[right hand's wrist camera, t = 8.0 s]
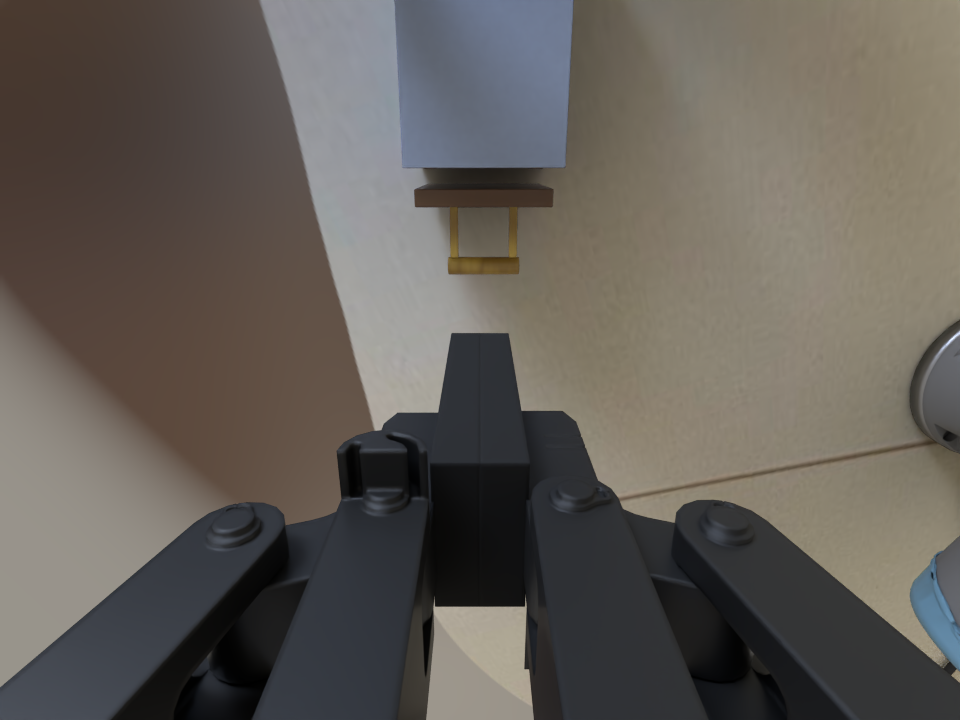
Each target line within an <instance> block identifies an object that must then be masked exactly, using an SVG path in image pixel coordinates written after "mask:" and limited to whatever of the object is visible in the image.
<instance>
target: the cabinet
mask: <svg viewBox="0 0 960 720" xmlns="http://www.w3.org/2000/svg"><path fill="white" fill-rule="evenodd" d="M573 3H574V0H395V18H396V39H397V60H398V81H399V102H400V123H401V144H402V165H403V168H565V164H566V144H567V123H568V103H569V83H570V63H571V43H572V23H573Z"/></svg>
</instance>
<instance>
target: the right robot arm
mask: <svg viewBox="0 0 960 720" xmlns="http://www.w3.org/2000/svg"><path fill="white" fill-rule="evenodd" d="M910 406H911V411H912V415H913V417H914V419H915V421H916V423H917V425H918V426H919V428H920V429H921V430H922V431H923V432H924V433H925V434H926V435H927V436H928V437H930V438H931V439H933V440H934V441H936V442H938V443H939V444H941V445H942V446H944V447H946V448H948V449H949V450H952V451H954V452H957V453H960V321H958V322H957V323H955V324H954V325H953V326H951V327H950V328H949V329H947V330H946V331H945V332H944V333H943V334H942V335H941V336H940V337H939V338H937V339H936V341H935V342H934V343H933V344H932V345H931V346H930V348H929V349H928V350H927V352H926V353H925V354H924V356H923V358H922V359H921V361H920V363H919V365H918V367H917V369H916V371H915V374H914V377H913V380H912V384H911V389H910ZM337 459H338V469H339V479H340V488H341V498H342V499H341V502H340V504H339V507H338V509H337V512H335V513H332V514H330V515H328V516H325V517H322V518H318V519H314V520H310V521H305V522H301V523H295V524H290V525H286V526H285V519H284V514H283V513H282V512H281V511H280V510H279V509H278V508H277V507H274V506H272V505H269V504H265V503H251V502H246V503H239V504H233V505H229V506H226V507H224V508H221V509H219V510H216V511H213V512H211V513H209V514H207V515H206V516H204V517H203V518H201V519H200V520H198V521H197V522H195V523H194V524H192V525H191V526H190V527H189V528H188V529H187V530H185V531H184V532H183V533H182V534H181V535H180V536H178V537H177V538H176V539H175V540H174V541H172V542H171V543H170V544H169V545H168V546H167V547H165V548H164V549H163V550H162V551H161V552H159V553H158V554H157V555H156V556H155V557H154V558H152V559H151V560H150V561H149V562H148V563H147V564H145V565H144V566H143V567H142V568H141V569H139V570H138V571H137V572H136V573H135V574H133V575H132V576H131V577H130V578H129V579H128V580H126V581H125V582H124V583H123V584H122V585H121V586H119V587H118V588H117V589H116V590H115V591H113V592H112V593H111V594H110V595H109V596H108V597H106V598H105V599H104V600H103V601H102V602H100V603H99V604H98V605H97V606H96V607H95V608H93V609H92V610H91V611H90V612H89V613H88V614H86V615H85V616H84V617H83V618H82V619H80V620H79V621H78V622H77V623H76V624H74V625H73V626H72V627H71V628H70V629H69V630H67V631H66V632H65V633H64V634H63V635H62V636H60V637H59V638H58V639H57V640H56V641H54V642H53V643H52V644H51V645H50V646H49V647H47V648H46V649H45V650H44V651H43V652H41V653H40V654H39V655H38V656H37V657H36V658H34V659H33V660H32V661H31V662H30V663H29V664H27V665H26V666H25V667H24V668H23V669H21V670H20V671H19V672H18V673H17V674H16V675H14V676H13V677H12V678H11V679H10V680H8V681H7V682H6V683H5V684H4V685H3V686H1V687H0V720H426V714H427V704H428V693H429V682H430V672H431V661H432V651H433V640H434V615H433V606H434V596H435V607H525V593H526V603H527V615H526V642H525V668H524V669H529V671H530V682H531V693H532V703H533V714H534V720H960V683H959V682H958V681H957V680H956V679H954V678H953V677H952V676H951V675H952V674H953V673H954V672H955V670H956V669H958V670H959V671H960V536H959V537H958V538H957V539H956V540H955V541H954V542H952V543H951V544H950V545H949V546H948V547H947V548H946V549H945V550H944V551H940V552H938V553H937V554H935V555H934V558H933V559H931V563H930V565H929V566H928V567H927V568H926V569H925V570H924V571H923V572H922V573H921V574H920V575H919V576H918V577H917V578H916V579H915V580H914V582H913V584H912V587H911V589H910V590H911V591H910V601H911V605H912V608H913V610H914V612H915V614H916V616H917V618H918V620H919V622H920V623H921V625H922V626H923V628H924V629H925V631H926V632H927V634H928V635H929V637H930V638H931V639H932V640H933V642H934V643H935V644H936V645H937V647H938V648H939V649H940V650H941V652H942V653H943V654H944V655H945V656H946V657H947V659H948V660H949V661H950V662H949V663H948V664H947V665H946V666H945V667H944V669H943V668H941V667H940V666H939V665H938V664H937V663H935V662H934V661H933V660H932V659H931V658H929V657H928V656H927V655H926V654H925V653H924V652H922V651H921V650H920V649H919V648H918V647H916V646H915V645H914V644H913V643H912V642H910V641H909V640H908V639H907V638H906V637H904V636H903V635H902V634H901V633H900V632H899V631H897V630H896V629H895V628H894V627H893V626H891V625H890V624H889V623H888V622H887V621H885V620H884V619H883V618H882V617H881V616H879V615H878V614H877V613H876V612H875V611H874V610H872V609H871V608H870V607H869V606H868V605H866V604H865V603H864V602H863V601H862V600H860V599H859V598H858V597H857V596H856V595H855V594H853V593H852V592H851V591H850V590H849V589H847V588H846V587H845V586H844V585H843V584H841V583H840V582H839V581H838V580H837V579H835V578H834V577H833V576H832V575H831V574H830V573H828V572H827V571H826V570H825V569H824V568H822V567H821V566H820V565H819V564H818V563H816V562H815V561H814V560H813V559H812V558H810V557H809V556H808V555H807V554H806V553H805V552H803V551H802V550H801V549H800V548H799V547H797V546H796V545H795V544H794V543H793V542H791V541H790V540H789V539H788V538H787V537H785V536H784V535H783V534H782V533H781V532H780V531H778V530H777V529H776V528H775V527H774V526H772V525H771V524H770V523H769V522H768V521H766V520H765V519H763V518H762V517H760V516H759V515H757V514H756V513H754V512H753V511H751V510H748V509H746V508H743V507H741V506H738V505H736V504H733V503H730V502H726V501H724V502H723V501H719V500H696V501H693V502H690V503H687V504H684V505H683V506H682V507H681V508H680V509H679V510H678V511H677V512H676V519H675V523H672V522H667V521H662V520H657V519H652V518H647V517H644V516H640V515H636V514H633V513H631V512H629V511H626V510H624V509H623V508H622V506H621V503H620V501H619V498H618V497H617V496H616V494H615V493H614V492H613V490H612V489H611V488H609V487H608V486H606V485H604V484H603V483H601V482H600V481H598V479H597V477H596V474H595V471H594V469H593V466H592V463H591V461H590V458H589V455H588V453H587V450H586V448H585V444H584V442H583V439H582V437H581V434H580V431H579V428H578V426H577V423H576V421H574V420H573V419H572V418H571V417H569V416H568V415H567V414H566V413H564V412H563V411H521V406H520V400H519V394H518V388H517V382H516V376H515V370H514V364H513V358H512V352H511V346H510V340H509V334H508V333H452V334H451V340H450V346H449V352H448V358H447V364H446V370H445V376H444V382H443V388H442V394H441V400H440V406H439V412H438V413H397V414H396V415H394V416H393V417H392V418H391V419H389V420H388V421H387V422H386V423H384V425H383V428H382V430H380V431H371V432H368V433H364V434H361V435H357V436H355V437H353V438H351V439H349V440H348V441H346V442H344V443H343V444H342V445H341V446H340V448H339V449H338V450H337Z"/></svg>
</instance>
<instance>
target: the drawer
mask: <svg viewBox="0 0 960 720" xmlns="http://www.w3.org/2000/svg"><path fill="white" fill-rule="evenodd" d="M425 169H437V168H425ZM532 169H542V168H532ZM414 195H415V207H450V248H451V257H449V258H448V274H519V257H517V210H518V207H552V206H553V189H551V188H548V187H546V186H543V185H541V184H427V185H424V186H422V187H419V188H417V189H415V190H414ZM458 207H509V254H508V256H509V257H458V256H459V247H458Z"/></svg>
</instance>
